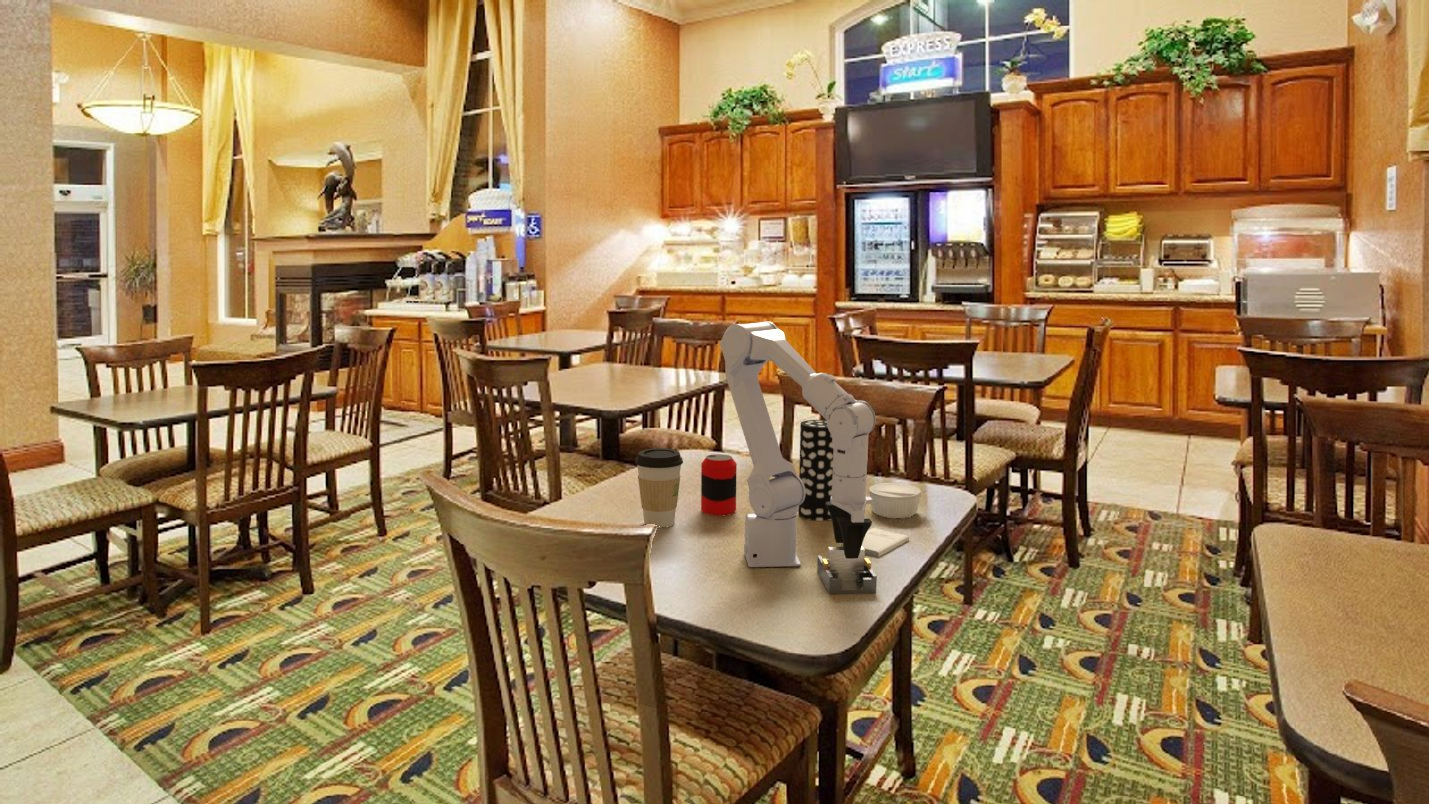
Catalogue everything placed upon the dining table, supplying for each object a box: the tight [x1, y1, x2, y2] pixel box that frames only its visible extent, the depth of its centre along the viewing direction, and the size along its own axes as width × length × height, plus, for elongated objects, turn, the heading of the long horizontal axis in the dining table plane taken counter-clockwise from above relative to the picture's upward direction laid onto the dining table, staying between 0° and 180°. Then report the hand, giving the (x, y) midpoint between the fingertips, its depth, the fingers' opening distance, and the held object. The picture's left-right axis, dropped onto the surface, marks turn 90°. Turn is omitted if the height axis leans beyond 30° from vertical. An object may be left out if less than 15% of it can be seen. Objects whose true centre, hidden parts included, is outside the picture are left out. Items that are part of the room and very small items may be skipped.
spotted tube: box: [797, 419, 834, 522], centre depth 194 cm, size 8×8×20 cm
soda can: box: [700, 453, 738, 517], centre depth 197 cm, size 8×8×12 cm
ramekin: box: [868, 482, 922, 519], centre depth 198 cm, size 11×11×5 cm
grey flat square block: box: [827, 546, 866, 580], centre depth 157 cm, size 6×2×6 cm, turn 95°
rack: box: [816, 554, 878, 595], centre depth 158 cm, size 8×10×4 cm
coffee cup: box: [634, 447, 684, 528], centre depth 188 cm, size 10×10×15 cm
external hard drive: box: [840, 527, 910, 558], centre depth 178 cm, size 2×8×12 cm
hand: (846, 550), depth 157 cm, fingers open, 7 cm apart
